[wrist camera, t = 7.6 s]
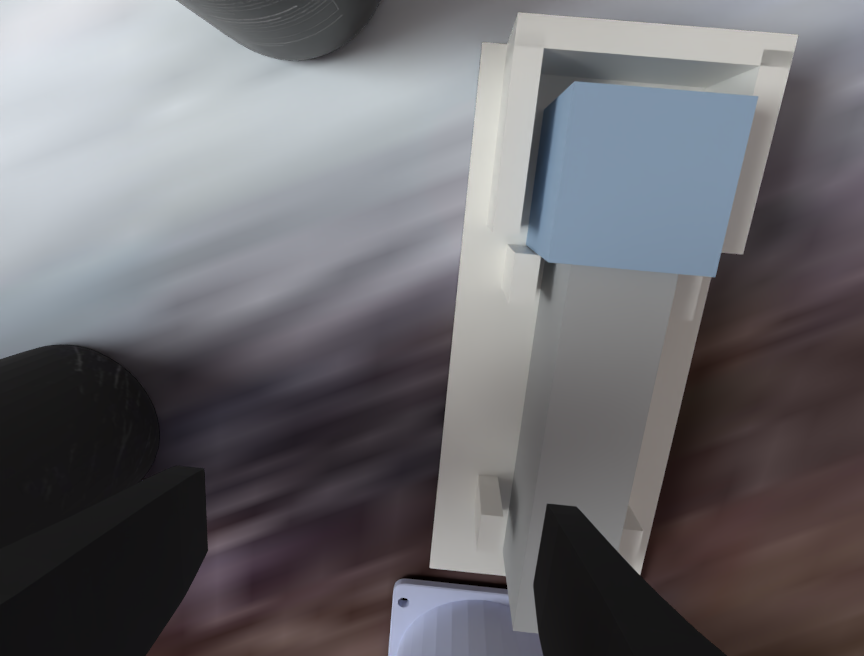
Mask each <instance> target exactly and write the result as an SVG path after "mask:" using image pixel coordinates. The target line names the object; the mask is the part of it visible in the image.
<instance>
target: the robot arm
mask: <svg viewBox="0 0 864 656" xmlns="http://www.w3.org/2000/svg"><path fill="white" fill-rule="evenodd" d="M207 551H208V543H207V519H206V496H205V472H204V469H203V468H194V467H184V466H174V467H172V468H169V469H167V470H164V471H162V472H160V473H158V474H156V475H153V476H151V477H149V478H147V479H145V480H143V481H141V482H139V483H137V484H135V485H133V486H131V487H129V488H127V489H125V490H123V491H121V492H119V493H117V494H115V495H113V496H111V497H109V498H107V499H105V500H103V501H101V502H99V503H97V504H95V505H93V506H91V507H89V508H87V509H85V510H83V511H81V512H79V513H77V514H75V515H73V516H71V517H69V518H66V519H64V520H62V521H60V522H58V523H55V524H53V525H51V526H49V527H47V528H45V529H42V530H40V531H38V532H36V533H34V534H32V535H29V536H27V537H25V538H23V539H21V540H19V541H16V542H14V543H12V544H10V545H8V546H5V547H3V548H1V549H0V656H145V655H146V654H147V653H148V651H149V650H150V648H151V647H152V645H153V644H154V642H155V641H156V639H157V638H158V636H159V635H160V633H161V632H162V630H163V629H164V627H165V626H166V624H167V623H168V621H169V620H170V618H171V617H172V615H173V614H174V612H175V611H176V609H177V608H178V606H179V605H180V603H181V601H182V600H183V598H184V597H185V595H186V593H187V591H188V589H189V587H190V585H191V583H192V582H193V580H194V578H195V576H196V574H197V572H198V570H199V568H200V566H201V564H202V562H203V560H204V558H205V556H206V553H207ZM533 589H534V599H535V608H536V617H537V625H538V633H539V634H538V633H528V632H519V631H513V627H512V619H511V612H510V604H509V596H508V589H501V588H491V587H482V586H472V585H463V584H453V583H444V582H434V581H425V580H415V579H400V580H398V581H397V582H396V583H395V585H394V590H393V602H392V614H391V627H390V640H389V652H388V656H727V655H726V654H724V653H723V652H722V651H721V650H720V649H718V648H717V647H716V646H715V645H714V644H712V643H711V642H710V641H709V640H708V639H706V638H705V637H704V636H703V635H702V634H701V633H700V632H698V631H697V630H696V629H695V628H694V627H693V626H692V625H691V624H690V623H688V622H687V621H686V620H685V619H684V618H683V617H682V616H681V615H680V614H679V613H678V612H677V611H676V610H675V609H674V608H673V607H672V606H670V605H669V604H668V603H667V602H666V601H665V600H664V599H663V598H662V597H661V596H660V595H659V594H658V593H657V592H656V591H655V590H654V589H653V588H652V587H651V586H650V585H649V584H648V583H647V582H646V581H645V580H644V579H643V578H642V577H641V576H640V575H639V574H638V573H637V572H636V571H635V570H634V569H633V568H632V566H631V565H630V564H629V563H628V562H627V561H626V560H625V559H624V558H623V557H622V556H621V555H620V554H619V553H618V552H617V550H616V549H615V548H614V547H613V546H612V545H611V544H610V543H609V542H608V541H607V539H606V538H605V537H604V536H603V535H602V534H601V533H600V532H599V531H598V529H597V528H596V527H595V526H594V525H593V524H592V523H591V522H590V520H589V519H588V518H587V517H586V516H585V515H584V514H583V513H582V512H581V511H580V510H579V509H578V508H577V506H568V505H558V504H548V503H547V506H546V511H545V517H544V523H543V529H542V535H541V541H540V547H539V553H538V559H537V564H536V570H535V576H534V582H533ZM400 598H406V599H408V600H405V601H404V600H401V599H400Z"/></svg>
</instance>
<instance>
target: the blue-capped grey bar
mask: <svg viewBox="0 0 864 656" xmlns="http://www.w3.org/2000/svg"><path fill="white" fill-rule="evenodd" d="M757 100H758V96H749V95H736V94H724V93H712V92H700V91H687V90H675V89H663V88H651V87H638V86H626V85H614V84H602V83H589V82H577V81H575V82H573V83H572V84H571V85H570V86H569V87H568V88H567V89H566V90H565V91H564V92H563V93H561V94H560V95H559V96H558V97H557V98H556V99H555V100H554V101H553V102H552V103H551V104H550V105H548V106H547V107H546V108H545V109H544V112H543V120H542V127H541V135H540V142H539V150H538V157H537V165H536V172H535V180H534V187H533V195H532V202H531V210H530V217H529V225H528V232H527V240H526V245H527V246H528V247H529V248H530V249H532V250H533V251H534V252H536V253H537V254H538V255H539V256H541V257H542V258H543V259H545V262H544V269H543V276H542V283H541V290H540V297H539V304H538V311H537V318H536V325H535V331H534V338H533V345H532V352H531V359H530V366H529V373H528V380H527V387H526V394H525V401H524V407H523V414H522V421H521V428H520V435H519V442H518V449H517V456H516V463H515V470H514V477H513V484H512V490H511V497H510V504H509V511H508V518H507V525H506V532H505V539H504V546H503V558H504V566H505V573H506V581H507V589H508V596H509V604H510V612H511V619H512V627H513V631H519V632H528V633H538V625H537V617H536V608H535V599H534V589H533V582H534V576H535V570H536V564H537V559H538V553H539V547H540V541H541V535H542V529H543V523H544V517H545V511H546V506H547V503H548V504H558V505H568V506H577V508H578V509H579V510H580V511H581V512H582V513H583V514H584V515H585V516H586V517H587V518H588V519H589V520H590V522H591V523H592V524H593V525H594V526H595V527H596V528H597V529H598V531H599V532H600V533H601V534H602V535H603V536H604V537H605V538H606V539H607V541H608V542H609V543H610V544H611V545H612V546H613V547H614V548H615V549H616V550H617V552H618V550H619V545H620V540H621V536H622V531H623V527H624V522H625V518H626V513H627V508H628V504H629V499H630V495H631V490H632V486H633V481H634V476H635V472H636V467H637V463H638V458H639V454H640V449H641V444H642V440H643V435H644V431H645V426H646V422H647V417H648V412H649V408H650V403H651V399H652V394H653V390H654V385H655V380H656V376H657V371H658V367H659V362H660V358H661V353H662V348H663V344H664V339H665V335H666V330H667V326H668V321H669V316H670V312H671V307H672V303H673V298H674V294H675V289H676V284H677V280H678V275H679V274H684V275H695V276H706V277H715V276H716V272H717V268H718V264H719V259H720V255H721V251H722V247H723V243H724V239H725V234H726V230H727V226H728V222H729V218H730V213H731V209H732V205H733V201H734V197H735V193H736V188H737V184H738V180H739V176H740V172H741V167H742V163H743V159H744V155H745V151H746V147H747V142H748V138H749V134H750V130H751V126H752V121H753V117H754V113H755V109H756V105H757ZM538 634H539V633H538Z"/></svg>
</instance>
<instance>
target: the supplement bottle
mask: <svg viewBox="0 0 864 656" xmlns="http://www.w3.org/2000/svg"><path fill="white" fill-rule="evenodd" d="M176 1H178V2H179V3H181V4H182V5H184V6H185V7H186V8H188V9H189V10H191V11H192V12H194V13H195V14H196V15H198V16H199V17H201V18H202V19H204V20H205V21H207V22H208V23H209V24H211V25H212V26H214V27H215V28H217V29H218V30H219V31H221V32H222V33H224V34H225V35H227V36H228V37H230V38H232V39H233V40H235V41H236V42H238V43H239V44H241V45H243V46H244V47H246V48H248V49H250V50H252V51H254V52H257V53H259V54H261V55H264V56H267V57H271V58H275V59H280V60H307V59H312V58H316V57H320V56H323V55H326V54H329V53H331V52H333V51H335V50H337V49H339V48H340V47H342V46H343V45H345V44H346V43H348V42H349V41H350V40H351V39H353V38H354V37H355V36H356V35H357V34H358V33H359V32H360V31H361V30H362V29H363V28H364V26H365V25H366V24H367V23H368V21H369V20H370V18H371V17H372V16H373V14H374V12H375V11H376V9H377V7H378V5H379V3H380V1H381V0H176Z"/></svg>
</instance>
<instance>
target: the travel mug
mask: <svg viewBox="0 0 864 656" xmlns="http://www.w3.org/2000/svg"><path fill="white" fill-rule="evenodd" d="M158 445H159V425H158V420H157V416H156V413H155V410H154V407H153V405H152V403H151V401H150V399H149V397H148V395H147V394H146V392H145V390H144V389H143V388H142V386H141V385H140V384H139V382H138V381H137V380H136V379H135V378H134V377H133V376H132V375H131V374H130V373H129V372H128V371H127V370H125V369H124V368H123V367H122V366H121V365H119V364H118V363H116V362H115V361H113V360H112V359H110V358H108V357H106V356H104V355H102V354H100V353H98V352H95V351H92V350H90V349H86V348H82V347H78V346H70V345H51V346H44V347H40V348H36V349H32V350H29V351H25V352H22V353H19V354H16V355H12V356H9V357H6V358H3V359H0V549H1V548H3V547H5V546H8V545H10V544H12V543H14V542H16V541H19V540H21V539H23V538H25V537H27V536H29V535H32V534H34V533H36V532H38V531H40V530H42V529H45V528H47V527H49V526H51V525H53V524H55V523H58V522H60V521H62V520H64V519H66V518H69V517H71V516H73V515H75V514H77V513H79V512H81V511H83V510H85V509H87V508H89V507H91V506H93V505H95V504H97V503H99V502H101V501H103V500H105V499H107V498H109V497H111V496H113V495H115V494H117V493H119V492H121V491H123V490H125V489H127V488H129V487H131V486H133V485H135V484H137V483H138V482H139V481H140V480H141V479H142V478H143V477H144V476H145V475H146V473H147V472H148V470H149V469H150V467H151V466H152V464H153V461H154V459H155V457H156V454H157V450H158Z"/></svg>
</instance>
